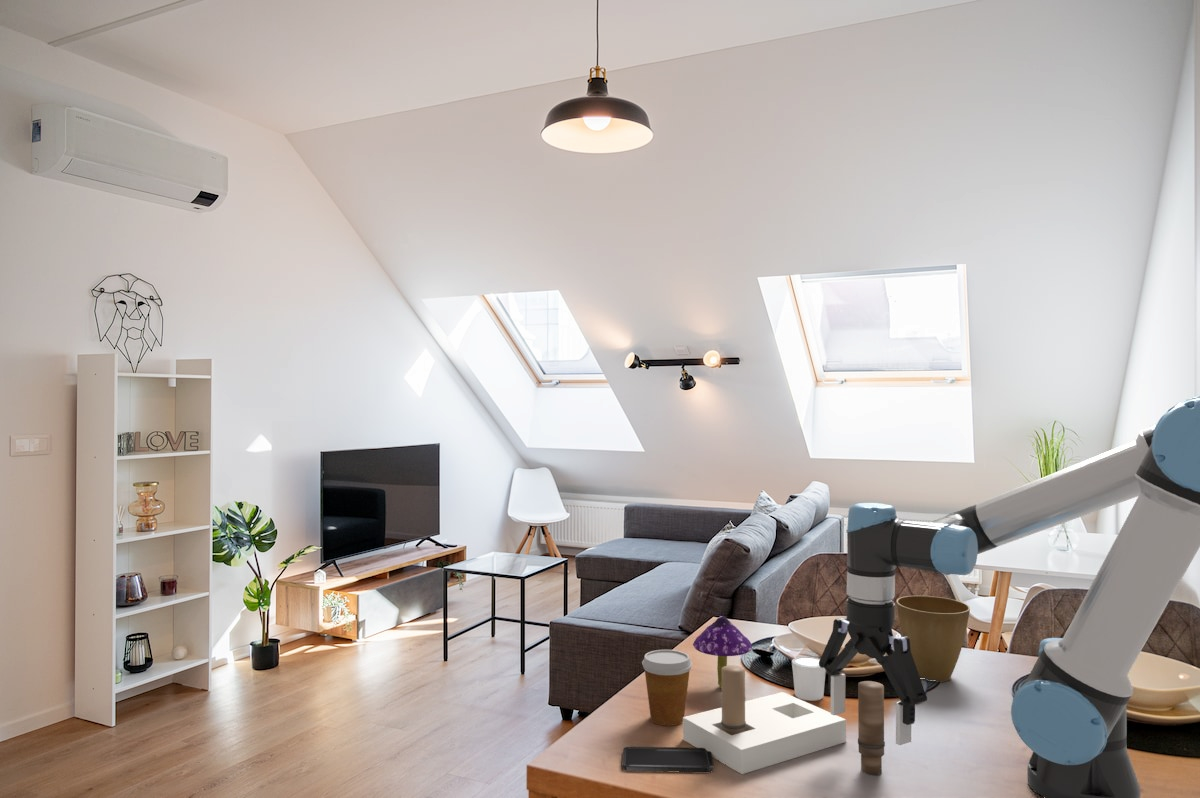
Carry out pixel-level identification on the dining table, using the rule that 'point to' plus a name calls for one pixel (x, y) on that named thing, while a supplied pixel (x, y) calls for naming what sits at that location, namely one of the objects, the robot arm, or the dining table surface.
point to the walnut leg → (871, 726)
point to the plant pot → (933, 633)
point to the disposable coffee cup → (667, 685)
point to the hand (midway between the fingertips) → (869, 727)
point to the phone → (667, 759)
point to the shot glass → (808, 678)
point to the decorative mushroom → (722, 642)
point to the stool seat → (761, 727)
